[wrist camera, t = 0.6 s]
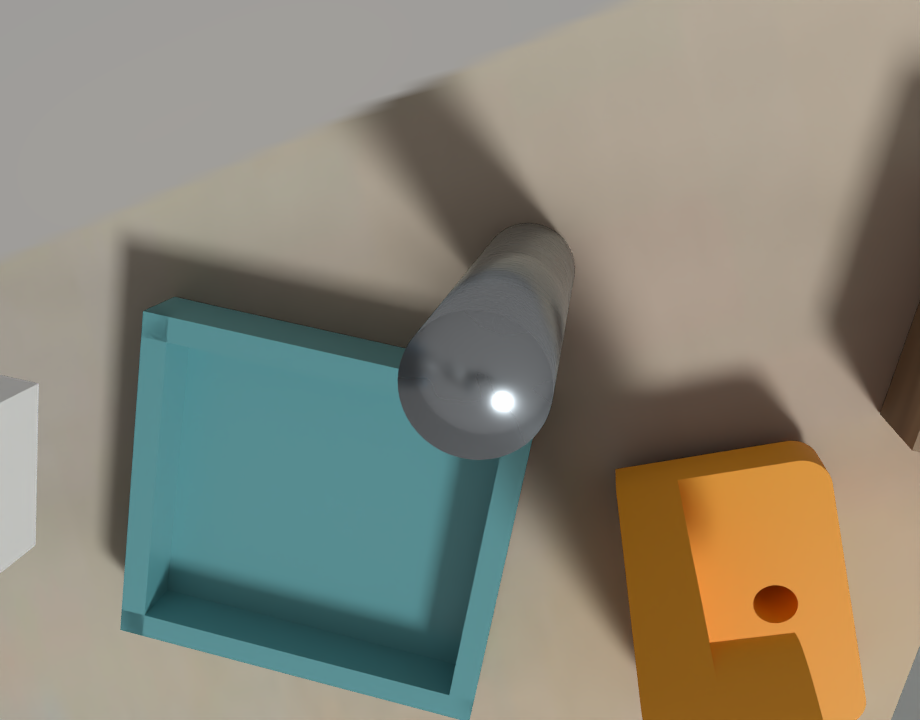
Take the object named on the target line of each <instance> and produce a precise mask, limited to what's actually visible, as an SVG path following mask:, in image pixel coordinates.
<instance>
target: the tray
mask: <svg viewBox="0 0 920 720" xmlns="http://www.w3.org/2000/svg"><path fill="white" fill-rule="evenodd" d="M405 349H406V348H401V347H397V346H392V345H388V344H384V343H379V342H375V341H370V340H366V339H361V338H357V337H352V336H348V335H343V334H339V333H334V332H330V331H325V330H321V329H316V328H312V327H307V326H303V325H298V324H294V323H289V322H285V321H281V320H276V319H272V318H267V317H263V316H258V315H254V314H249V313H245V312H240V311H236V310H231V309H227V308H222V307H218V306H213V305H209V304H204V303H200V302H195V301H191V300H187V299H182V298H178V297H173V298H171V299H169V300H167V301H164V302H162V303H160V304H158V305H155V306H153V307H151V308H149V309H147V310H144V311H143V320H142V334H141V348H140V362H139V376H138V390H137V404H136V418H135V432H134V446H133V460H132V474H131V488H130V503H129V517H128V531H127V545H126V559H125V573H124V587H123V601H122V615H121V629H120V630H123V631H127V632H131V633H134V634H138V635H142V636H146V637H150V638H153V639H157V640H161V641H165V642H168V643H172V644H176V645H180V646H184V647H187V648H191V649H195V650H199V651H202V652H206V653H210V654H214V655H218V656H221V657H225V658H229V659H233V660H237V661H240V662H244V663H248V664H252V665H255V666H259V667H263V668H267V669H271V670H274V671H278V672H282V673H286V674H289V675H293V676H297V677H301V678H305V679H308V680H312V681H316V682H320V683H323V684H327V685H331V686H335V687H339V688H342V689H346V690H350V691H354V692H357V693H361V694H365V695H369V696H373V697H376V698H380V699H384V700H388V701H392V702H395V703H399V704H403V705H407V706H410V707H414V708H418V709H422V710H426V711H429V712H433V713H437V714H441V715H444V716H448V717H452V718H456V719H460V720H470V715H471V711H472V706H473V702H474V698H475V693H476V689H477V684H478V680H479V675H480V671H481V666H482V662H483V657H484V653H485V648H486V644H487V640H488V635H489V631H490V626H491V622H492V617H493V613H494V608H495V604H496V599H497V595H498V590H499V586H500V582H501V577H502V573H503V568H504V564H505V559H506V555H507V550H508V546H509V541H510V537H511V533H512V528H513V524H514V519H515V515H516V510H517V506H518V501H519V497H520V492H521V488H522V483H523V479H524V475H525V470H526V466H527V461H528V457H529V452H530V448H531V443H532V439H531V440H530V441H529V442H528V443H527V444H526V445H524V446H523V447H521V448H520V449H518V450H516V451H514V452H512V453H510V454H508V455H505V456H502V457H499V458H494V459H487V460H470V459H464V458H459V457H456V456H453V455H450V454H447V453H445V452H443V451H441V450H439V449H437V448H436V447H434V446H432V445H431V444H430V443H428V442H427V441H426V440H425V439H424V438H423V437H422V436H421V435H419V434H418V432H417V431H416V430H415V429H414V427H413V426H412V425H411V423H410V422H409V420H408V418H407V417H406V415H405V412H404V410H403V408H402V405H401V402H400V398H399V393H398V370H399V366H400V361H401V358H402V356H403V353H404V351H405Z"/></svg>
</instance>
